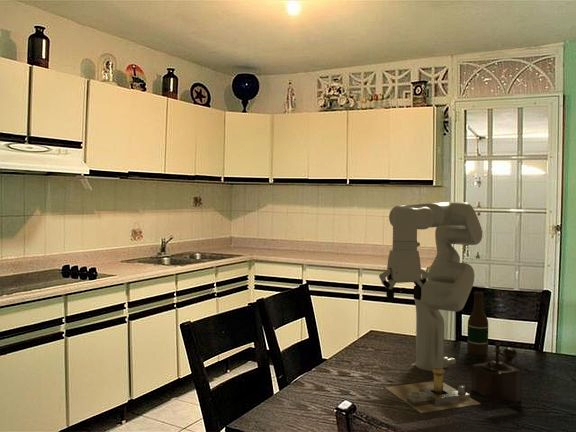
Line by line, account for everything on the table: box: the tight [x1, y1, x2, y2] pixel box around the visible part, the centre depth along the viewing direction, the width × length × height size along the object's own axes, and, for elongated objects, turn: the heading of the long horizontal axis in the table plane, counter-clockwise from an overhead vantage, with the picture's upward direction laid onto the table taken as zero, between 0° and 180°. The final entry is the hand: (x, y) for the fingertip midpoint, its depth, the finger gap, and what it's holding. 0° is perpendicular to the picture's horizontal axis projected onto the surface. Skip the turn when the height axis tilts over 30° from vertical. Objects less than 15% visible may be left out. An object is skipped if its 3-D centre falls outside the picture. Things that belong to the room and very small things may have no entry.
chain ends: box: [407, 385, 471, 407], centre depth 152 cm, size 19×8×3 cm, turn 109°
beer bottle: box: [466, 291, 489, 357], centre depth 203 cm, size 8×8×24 cm
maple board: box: [385, 380, 482, 414], centre depth 156 cm, size 20×20×2 cm
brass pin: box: [432, 368, 445, 395], centre depth 152 cm, size 3×3×9 cm
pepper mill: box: [471, 343, 523, 404], centre depth 155 cm, size 16×11×18 cm
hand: (403, 300), depth 164 cm, fingers open, 9 cm apart
